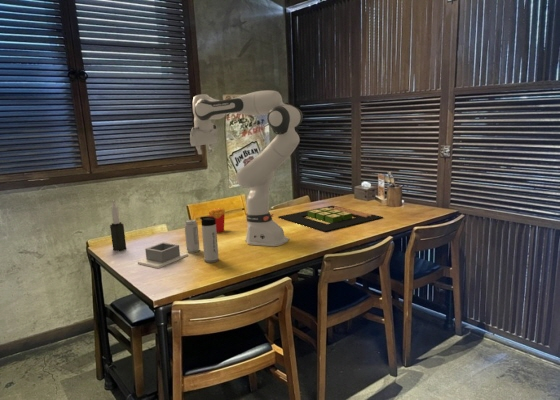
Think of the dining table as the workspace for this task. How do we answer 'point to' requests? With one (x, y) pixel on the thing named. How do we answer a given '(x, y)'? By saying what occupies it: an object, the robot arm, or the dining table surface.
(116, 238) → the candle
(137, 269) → the dining table surface
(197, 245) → the energy drink can
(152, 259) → the housing
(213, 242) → the travel mug
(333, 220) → the sushi set
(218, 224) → the french fries
